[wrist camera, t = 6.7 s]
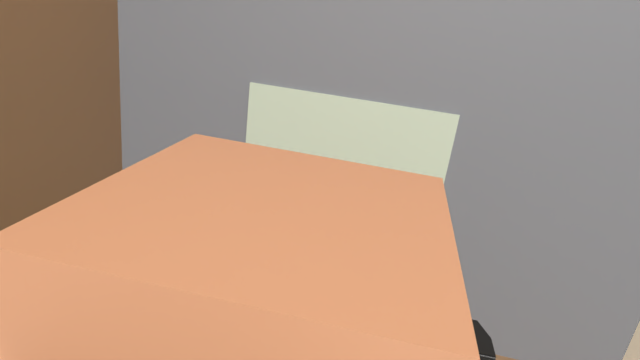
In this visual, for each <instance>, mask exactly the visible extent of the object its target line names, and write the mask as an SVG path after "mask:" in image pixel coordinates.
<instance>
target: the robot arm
mask: <svg viewBox="0 0 640 360" xmlns="http://www.w3.org/2000/svg"><path fill="white" fill-rule="evenodd" d="M472 322H473V327H474V332H475V337H476V342H477V347H478V351H479V356H480V360H496V355H495V351H494V347H493V343H492V339H491V337H490V336H489V335H488V334H487V332H486V331H485V330H484V328H483V327H482V326H481V325H480V323H479V322H478V321H477V320H473V319H472Z"/></svg>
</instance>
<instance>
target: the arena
mask: <svg viewBox="0 0 640 360" xmlns="http://www.w3.org/2000/svg"><path fill="white" fill-rule="evenodd" d="M194 134H199V135H205V136H211V137H216V138H222V139H227V140H233V141H239V142H244V143H250V144H255V145H261V146H266V147H272V148H278V149H283V150H289V151H294V152H300V153H305V154H311V155H317V156H322V157H328V158H333V159H339V160H344V161H350V162H356V163H361V164H367V165H372V166H378V167H384V168H389V169H395V170H400V171H406V172H411V173H417V174H423V175H428V176H434V177H439V178H443V183H444V188H445V193H446V198H447V202H448V207H449V212H450V217H451V222H452V226H453V231H454V236H455V241H456V246H457V250H458V255H459V260H460V265H461V270H462V274H463V279H464V284H465V289H466V294H467V298H468V303H469V308H470V313H471V318H472V319H473V320H477V321H478V322H479V323H480V325H481V326H482V327H483V328H484V330H485V331H486V332H487V334H488V335H489V336H490V337H491V339H492V343H493V347H494V351H495V355H496V360H622V359H623V357H624V355H625V352H626V350H627V348H628V346H629V343H630V341H631V339H632V337H633V334H634V332H635V330H636V327H637V325H638V323H639V321H640V0H0V231H1V230H3V229H5V228H7V227H9V226H11V225H13V224H15V223H17V222H19V221H21V220H23V219H25V218H27V217H29V216H31V215H33V214H35V213H37V212H39V211H41V210H43V209H45V208H47V207H49V206H51V205H53V204H55V203H57V202H59V201H61V200H63V199H65V198H67V197H69V196H71V195H73V194H75V193H77V192H79V191H81V190H83V189H85V188H87V187H89V186H91V185H93V184H95V183H97V182H99V181H101V180H103V179H105V178H107V177H109V176H111V175H113V174H115V173H117V172H119V171H121V170H123V169H125V168H127V167H129V166H131V165H133V164H135V163H137V162H139V161H142V160H144V159H146V158H148V157H150V156H152V155H154V154H156V153H158V152H160V151H162V150H164V149H166V148H168V147H170V146H172V145H174V144H176V143H178V142H180V141H182V140H184V139H186V138H188V137H190V136H192V135H194Z"/></svg>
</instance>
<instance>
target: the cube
mask: <svg viewBox="0 0 640 360" xmlns="http://www.w3.org/2000/svg"><path fill="white" fill-rule="evenodd" d="M0 360H480V356H479V351H478V347H477V342H476V337H475V332H474V327H473V322H472V318H471V313H470V308H469V303H468V298H467V294H466V289H465V284H464V279H463V274H462V270H461V265H460V260H459V255H458V250H457V246H456V241H455V236H454V231H453V226H452V222H451V217H450V212H449V207H448V202H447V198H446V193H445V188H444V183H443V178H439V177H434V176H428V175H423V174H417V173H411V172H406V171H400V170H395V169H389V168H384V167H378V166H372V165H367V164H361V163H356V162H350V161H344V160H339V159H333V158H328V157H322V156H317V155H311V154H305V153H300V152H294V151H289V150H283V149H278V148H272V147H266V146H261V145H255V144H250V143H244V142H239V141H233V140H227V139H222V138H216V137H211V136H205V135H199V134H194V135H192V136H190V137H188V138H186V139H184V140H182V141H180V142H178V143H176V144H174V145H172V146H170V147H168V148H166V149H164V150H162V151H160V152H158V153H156V154H154V155H152V156H150V157H148V158H146V159H144V160H142V161H139V162H137V163H135V164H133V165H131V166H129V167H127V168H125V169H123V170H121V171H119V172H117V173H115V174H113V175H111V176H109V177H107V178H105V179H103V180H101V181H99V182H97V183H95V184H93V185H91V186H89V187H87V188H85V189H83V190H81V191H79V192H77V193H75V194H73V195H71V196H69V197H67V198H65V199H63V200H61V201H59V202H57V203H55V204H53V205H51V206H49V207H47V208H45V209H43V210H41V211H39V212H37V213H35V214H33V215H31V216H29V217H27V218H25V219H23V220H21V221H19V222H17V223H15V224H13V225H11V226H9V227H7V228H5V229H3V230H1V231H0Z"/></svg>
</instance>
